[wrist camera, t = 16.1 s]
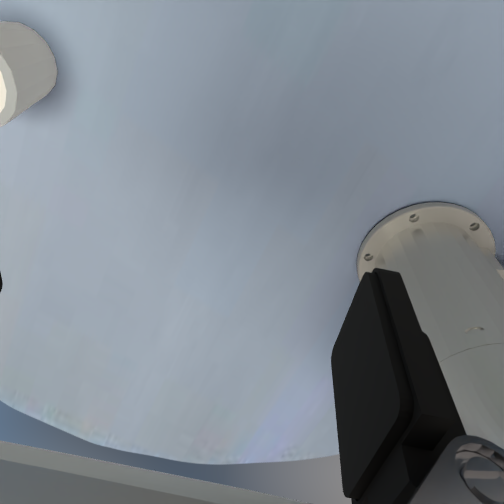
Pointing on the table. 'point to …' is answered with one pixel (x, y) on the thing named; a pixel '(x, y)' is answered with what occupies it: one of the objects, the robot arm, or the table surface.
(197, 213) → the table surface
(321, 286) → the table surface
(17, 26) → the white cylinder
